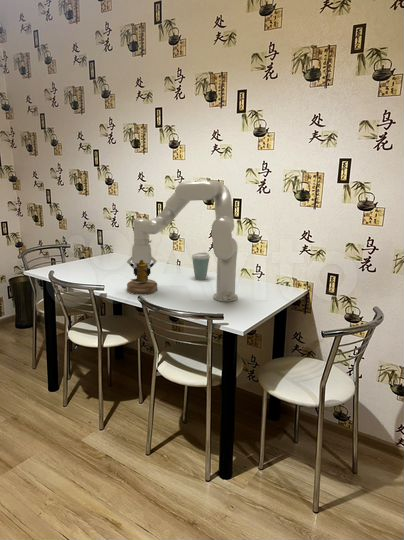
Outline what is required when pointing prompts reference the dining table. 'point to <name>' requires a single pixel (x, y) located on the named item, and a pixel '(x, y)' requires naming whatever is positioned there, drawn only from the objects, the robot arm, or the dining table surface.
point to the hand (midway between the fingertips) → (142, 275)
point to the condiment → (141, 272)
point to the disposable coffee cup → (200, 265)
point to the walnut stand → (142, 287)
